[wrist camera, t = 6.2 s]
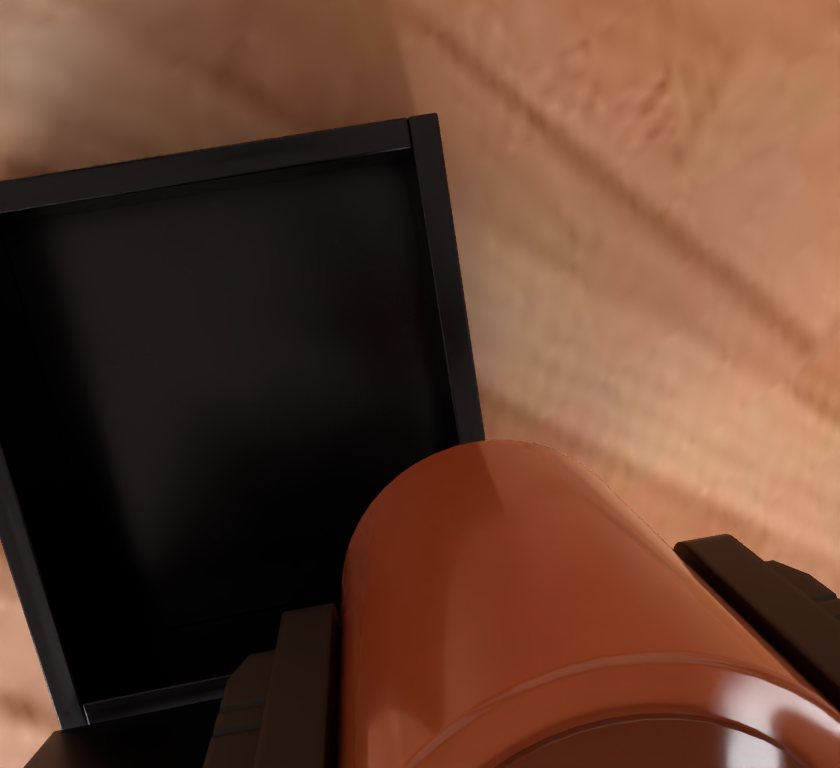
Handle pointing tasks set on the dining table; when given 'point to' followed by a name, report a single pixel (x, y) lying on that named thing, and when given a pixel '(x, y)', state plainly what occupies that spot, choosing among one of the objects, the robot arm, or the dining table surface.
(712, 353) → the dining table surface
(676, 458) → the dining table surface
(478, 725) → the terracotta cup
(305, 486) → the black open box
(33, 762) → the lid
